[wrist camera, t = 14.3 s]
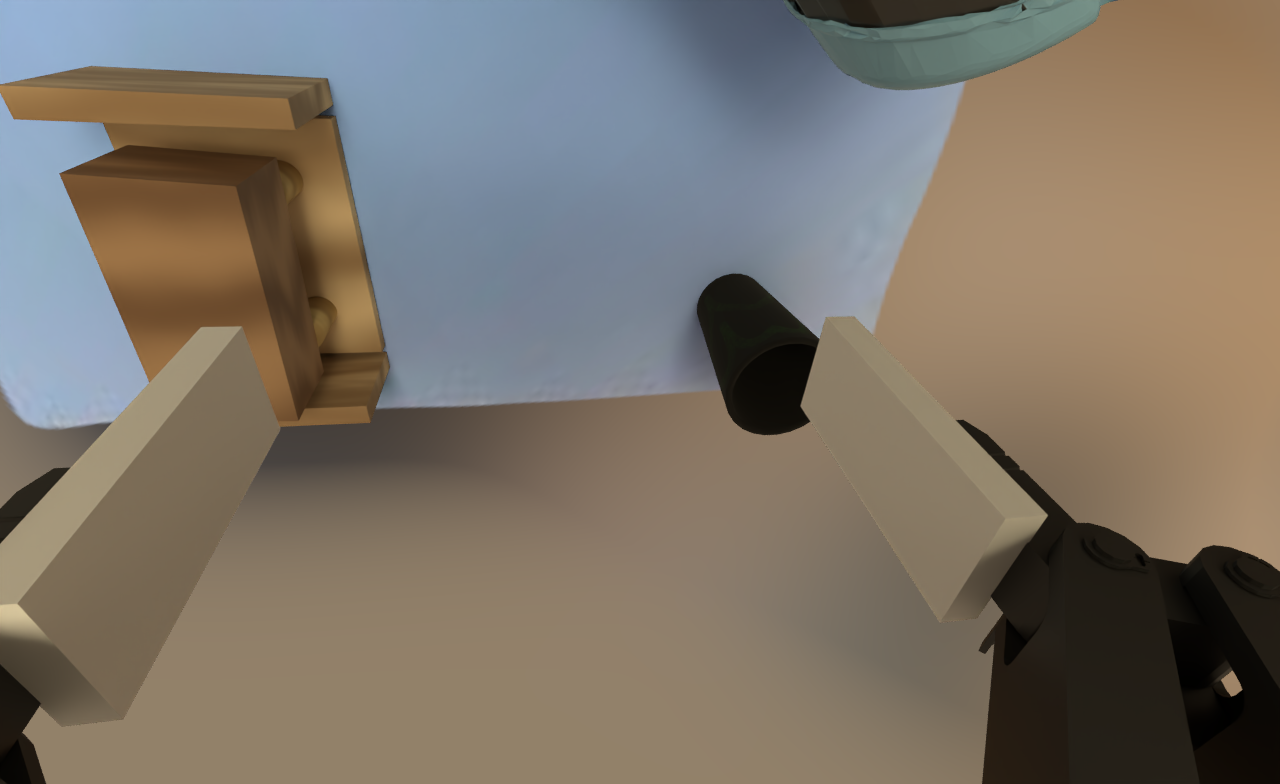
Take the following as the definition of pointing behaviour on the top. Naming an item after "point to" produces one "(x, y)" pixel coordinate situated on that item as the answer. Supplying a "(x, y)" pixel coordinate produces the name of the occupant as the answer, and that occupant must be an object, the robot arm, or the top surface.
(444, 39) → the top surface
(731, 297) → the cup
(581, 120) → the top surface
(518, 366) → the top surface
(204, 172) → the brown wooden block
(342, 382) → the stand
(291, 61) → the top surface
